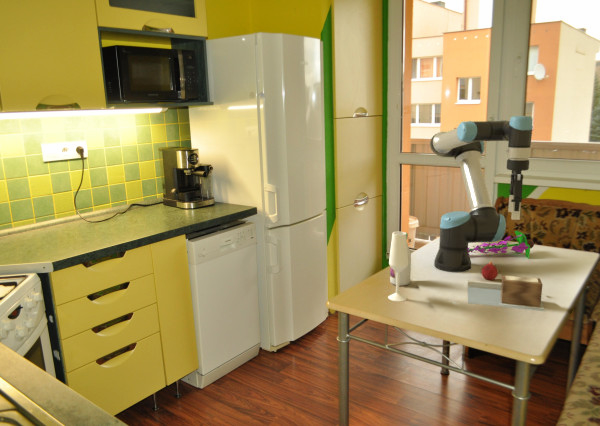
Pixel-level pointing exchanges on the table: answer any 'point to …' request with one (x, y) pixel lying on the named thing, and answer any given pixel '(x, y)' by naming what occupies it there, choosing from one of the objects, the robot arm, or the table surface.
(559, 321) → the table surface
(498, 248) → the potted plant
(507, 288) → the frame
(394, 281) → the milk bottle
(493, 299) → the wall panel
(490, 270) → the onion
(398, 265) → the champagne flute
